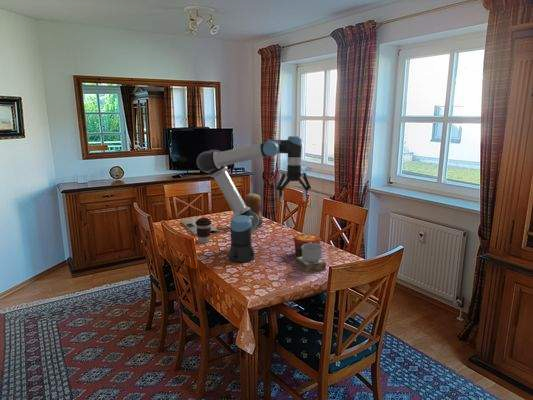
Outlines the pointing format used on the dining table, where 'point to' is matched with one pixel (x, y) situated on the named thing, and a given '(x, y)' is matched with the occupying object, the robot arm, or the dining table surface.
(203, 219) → the coffee cup
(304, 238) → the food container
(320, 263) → the pedestal
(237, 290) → the dining table surface
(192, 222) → the newspaper
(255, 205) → the butternut squash
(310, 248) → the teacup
